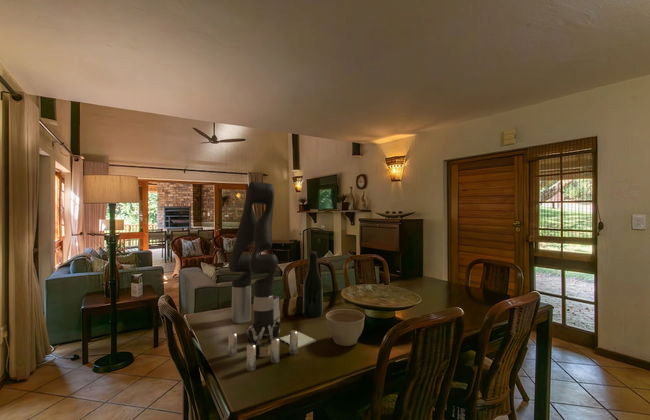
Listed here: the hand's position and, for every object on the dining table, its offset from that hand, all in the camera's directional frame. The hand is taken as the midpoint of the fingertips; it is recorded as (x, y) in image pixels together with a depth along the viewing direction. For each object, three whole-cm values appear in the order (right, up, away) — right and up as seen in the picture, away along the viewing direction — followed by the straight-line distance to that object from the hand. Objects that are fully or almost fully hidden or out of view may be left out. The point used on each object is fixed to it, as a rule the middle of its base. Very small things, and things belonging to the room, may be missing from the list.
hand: (263, 352), depth 116 cm
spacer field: (0, -1, 0) cm, 1 cm away
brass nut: (0, -1, 0) cm, 1 cm away
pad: (+12, -1, +12) cm, 17 cm away
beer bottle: (+17, -1, +45) cm, 48 cm away
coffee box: (-2, -1, +20) cm, 20 cm away
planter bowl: (+32, -1, +11) cm, 34 cm away
